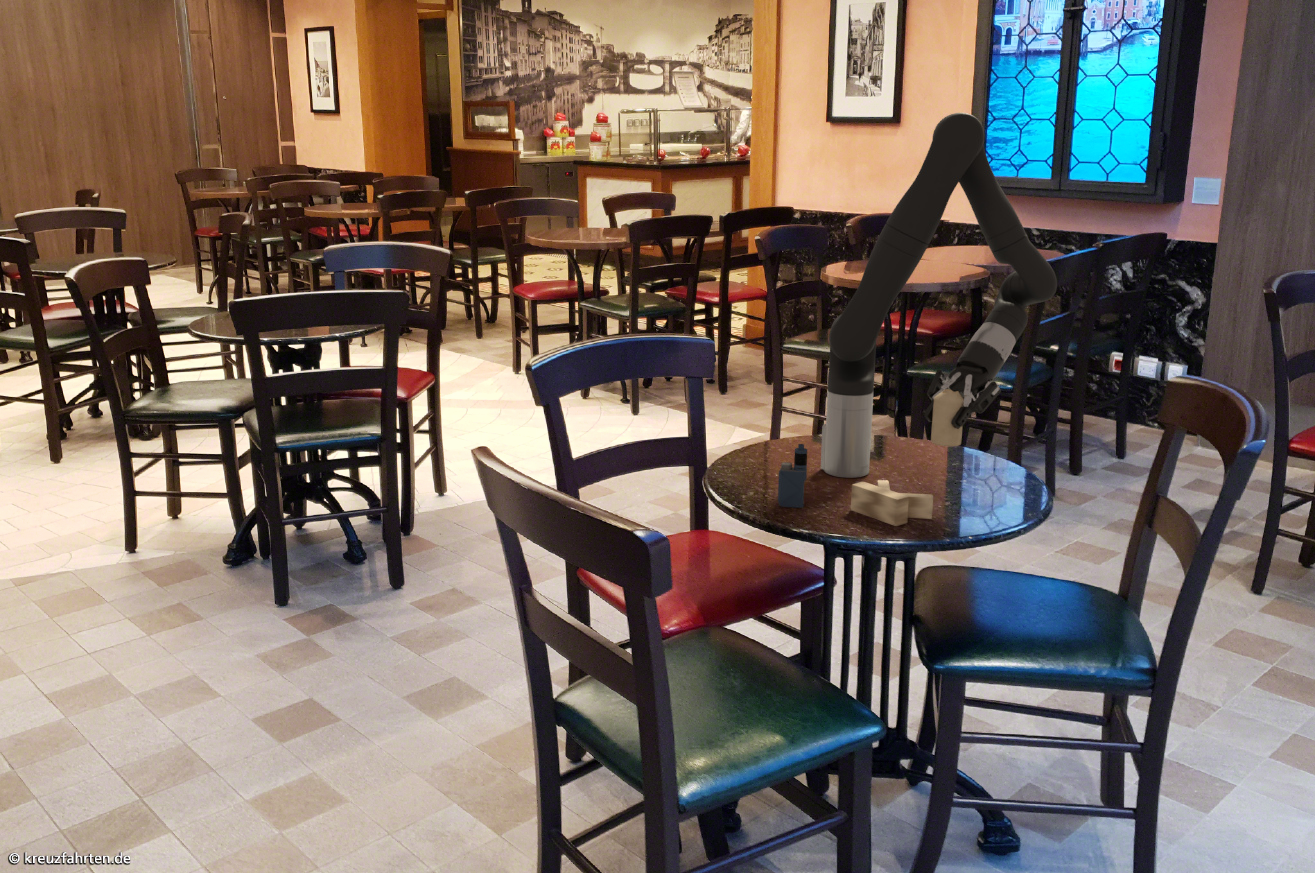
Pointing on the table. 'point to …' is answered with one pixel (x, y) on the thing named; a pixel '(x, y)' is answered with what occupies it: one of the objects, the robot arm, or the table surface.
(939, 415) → the candle
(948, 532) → the table surface
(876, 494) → the letter k block
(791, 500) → the vaping device
